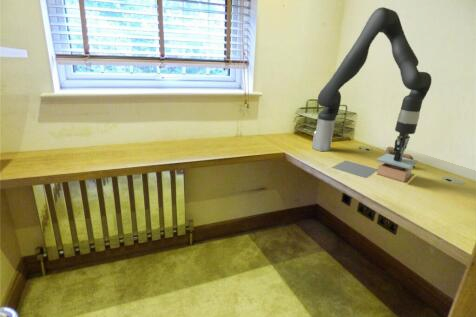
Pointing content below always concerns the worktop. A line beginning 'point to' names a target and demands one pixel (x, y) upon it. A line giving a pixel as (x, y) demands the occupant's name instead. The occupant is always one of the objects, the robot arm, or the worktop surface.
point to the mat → (355, 169)
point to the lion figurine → (391, 151)
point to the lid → (401, 163)
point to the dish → (394, 172)
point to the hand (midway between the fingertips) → (397, 159)
